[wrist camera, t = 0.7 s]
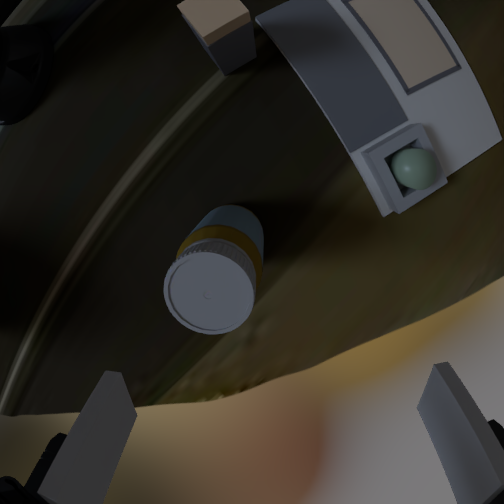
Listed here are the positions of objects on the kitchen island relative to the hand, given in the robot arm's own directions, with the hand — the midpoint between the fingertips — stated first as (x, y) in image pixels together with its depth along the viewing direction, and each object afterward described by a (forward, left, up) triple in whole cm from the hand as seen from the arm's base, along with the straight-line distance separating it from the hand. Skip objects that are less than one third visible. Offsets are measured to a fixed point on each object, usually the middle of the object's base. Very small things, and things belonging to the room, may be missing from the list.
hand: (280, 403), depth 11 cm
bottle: (-3, -4, -24) cm, 25 cm away
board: (-9, +22, -24) cm, 34 cm away
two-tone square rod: (-20, +7, -24) cm, 32 cm away
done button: (0, +16, -22) cm, 27 cm away
